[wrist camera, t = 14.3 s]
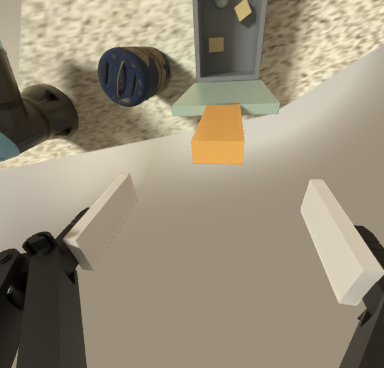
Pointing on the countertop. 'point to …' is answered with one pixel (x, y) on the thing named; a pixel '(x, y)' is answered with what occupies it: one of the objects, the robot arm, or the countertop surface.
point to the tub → (228, 39)
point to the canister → (133, 74)
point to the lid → (223, 117)
